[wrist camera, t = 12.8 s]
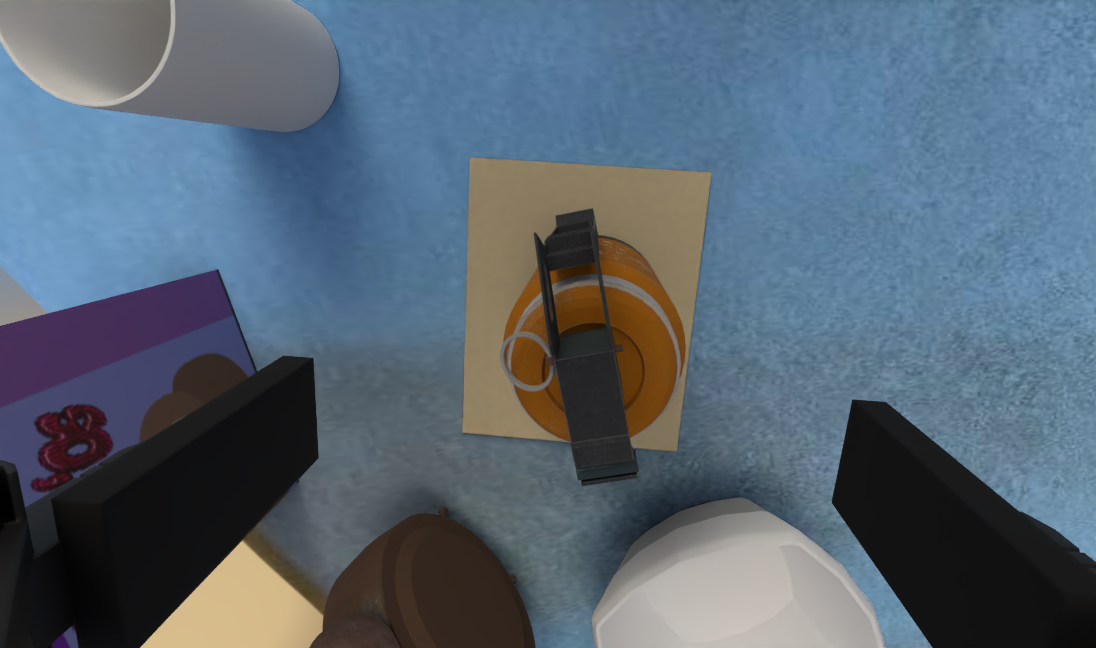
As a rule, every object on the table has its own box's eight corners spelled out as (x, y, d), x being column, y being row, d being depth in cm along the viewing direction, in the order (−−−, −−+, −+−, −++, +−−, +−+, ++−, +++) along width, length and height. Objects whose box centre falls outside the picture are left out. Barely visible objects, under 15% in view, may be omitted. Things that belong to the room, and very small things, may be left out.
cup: (346, 14, 39) (181, -93, 23) (332, 143, 41) (171, 126, 25) (224, -13, 39) (-23, -136, 23) (215, 118, 41) (-15, 85, 25)
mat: (470, 157, 40) (469, 157, 40) (711, 172, 39) (711, 172, 39) (463, 431, 45) (462, 432, 45) (676, 450, 44) (676, 452, 44)
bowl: (662, 696, 50) (678, 813, 41) (558, 527, 47) (549, 613, 37) (868, 616, 46) (935, 724, 37) (771, 429, 43) (818, 497, 34)
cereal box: (298, 481, 47) (13, 778, 24) (244, 492, 48) (-84, 792, 25) (218, 269, 43) (-214, 381, 20) (160, 284, 44) (-322, 409, 21)
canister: (543, 369, 43) (502, 528, 24) (511, 217, 41) (435, 257, 21) (668, 348, 42) (730, 497, 23) (642, 190, 40) (687, 207, 20)
